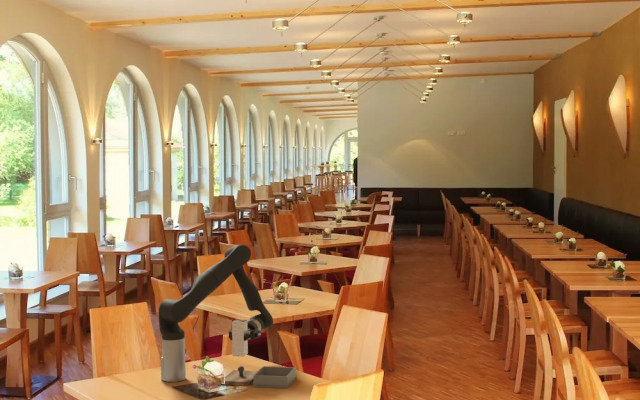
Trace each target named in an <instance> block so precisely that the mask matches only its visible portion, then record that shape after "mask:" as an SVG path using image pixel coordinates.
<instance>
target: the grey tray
mask: <svg viewBox="0 0 640 400" xmlns="http://www.w3.org/2000/svg"><path fill="white" fill-rule="evenodd" d="M257 371H258V372H257V373H256V374H254V375H253V383H252V385H253V387H254V388H274V389H289V388H290V386H291V385H292V384H293V383H294V381H296V379H297V368H296V367H292V366H291V367H290V366H268V365H267V366H262V367H260V369H258V370H257Z"/></svg>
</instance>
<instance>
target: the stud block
mask: <svg viewBox="0 0 640 400" xmlns="http://www.w3.org/2000/svg"><path fill="white" fill-rule="evenodd" d="M258 371H259V370H245V366H243V365H239V366H238V367H237V369H233V370H232V371H230V372H229V373H228V374H227V375H226V376H224V378H225V384H226V385H225V386H242V387H243V386H247V387H250V386H251V385H253V375H254V374H256V373H257V372H258Z"/></svg>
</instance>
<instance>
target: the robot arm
mask: <svg viewBox="0 0 640 400" xmlns="http://www.w3.org/2000/svg"><path fill="white" fill-rule="evenodd" d="M251 256H252V251H251V248H250V247H249V246H248V245H246V244H243V243H242V244H236V245H234V246H230V247H229V248H227V249H226V250H225V252H224V258H223V259H222V260H220V261H218V262H216V263H214V264H213V265H211V266H210V267H208V268H207V269H205V270H204V271H202V272H201V273H200V274H199V275H198V276H196V278H195V279H194V281H193V283H192V285H191V289H190V290H189V291H188V293H186V294H185V295H184V296H183V297H181V298H179V299H172V298H166V299H164V300H162V301H161V302H160V304H159V307H158V324H159V325H158V326H159V331H160V334H161V343H162V344H161V345H162V346H161V348H162V351H161V352H162V356H161V357H160V378H161V379H160V380H161V381H163V382H168V383H176V382H181V381H184V380H186V377H187V376H186V374H187V371H186V342H185V341H186V340H185V338H186V337H185V330H184V329H183V328H182V327H181V326H180V325H179V323H181V322H183V321H185V320H186V319H187V318H188V317H189V315H191V313H192V312H193V311H194V310H195V309H196V308H197V307H198V306H199V305H200V304H201V303H202V302H203V301H204V300H206V298H208V296H209V295H211V294H212V293H213V292H214V291H216V289H218V288H219V287H221V285H222V284H223V283H224V282H225V281H226V280H227V279H229V277H230V276H231V275H233V277H234V279H235V282H236V283H237V284H238V287H239V289H240V290H241V293H242V295H243V296H242V297H243V298H244V301H245V304H246V306H247V309H248V310H249V311H250V312H254V311H258V312H259V313H258V314H256V315H253V316H251V317H249V319H247V328H248V333H247V334H245V335H244V341H246V340H248V341H251V340H255V339H258V338H261V335H262V334H261V333H262V331H263V330H267V329H268V328H271V327H272V326H273V324H274V318H273V316H272V314H271V312H270V311H269V310H268V308H267V307H266V305H265V304H264V302H263V300H262V298H261V295H260V291H259V290H258V288H257V286H256V285H255V284H254V282H253V281H252V280H251V279H250V277H249V276H248V275H247V272H246V271H245V268H244V266H245V265H246V264H247V263H248V262H249V261H250V260H251ZM228 338H229V340H230V341H232V328H230V329H229V330H228Z"/></svg>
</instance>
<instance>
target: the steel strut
mask: <svg viewBox="0 0 640 400" xmlns="http://www.w3.org/2000/svg"><path fill="white" fill-rule="evenodd" d="M247 321H248V319H234V320H233V321H232V322H231V329H232V340H231V354H232V357H240V358H241V357H243V358H244V357H245V356H247V355H248V353H249V348H248V347H249V345H248V344H249V343H248V342H249V340H246V341H244V335H245V334H247V333H248V328H247Z"/></svg>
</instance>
